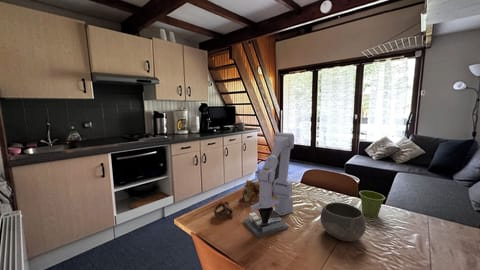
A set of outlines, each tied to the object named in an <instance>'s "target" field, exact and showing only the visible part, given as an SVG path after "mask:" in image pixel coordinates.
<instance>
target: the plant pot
mask: <svg viewBox="0 0 480 270" xmlns="http://www.w3.org/2000/svg"><path fill="white" fill-rule="evenodd" d="M358 194H359V196H360V202H361V203H360V204H361V211H362V213H363V216H364V217H368V218H378V216H379V213H380V211H381V208H382V204H383V203H384V201H385V199H386V197H385V196H384V195H383V194H381V193H378V192H375V191H372V190H360V191H359V192H358Z"/></svg>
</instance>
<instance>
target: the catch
mask: <svg viewBox="0 0 480 270" xmlns="http://www.w3.org/2000/svg"><path fill="white" fill-rule="evenodd" d="M248 214H249V216H248V218H249V220H250V221H251V222H254V221H258V220H260V218H259V217H258V216H259V215H258V214H257V213H256V212H255V211H253V212H251V213H248Z"/></svg>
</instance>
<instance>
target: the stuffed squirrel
mask: <svg viewBox="0 0 480 270" xmlns="http://www.w3.org/2000/svg"><path fill="white" fill-rule="evenodd" d="M243 189H244V190H242V192H241V195H242V197H239V198H238V201H239V202H247V203H248V204H249V205H250V206H252V205H254V204H256V201H257V198H258V196H259V192H260V185H259V183H257V182H253V181H252V180H248V179H246V182H245V185H244V186H243Z"/></svg>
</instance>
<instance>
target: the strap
mask: <svg viewBox="0 0 480 270" xmlns="http://www.w3.org/2000/svg"><path fill="white" fill-rule="evenodd" d="M281 219H282V218H281V217H280V216H279V217H275V218H271V219H269V220H268V223H267V222H266V223H263V222H262V221H257V222H255V224H256V225H257V226H258V227H259V226H263V225H266V224H270V223H273V222H277V221H280V220H281Z"/></svg>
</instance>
